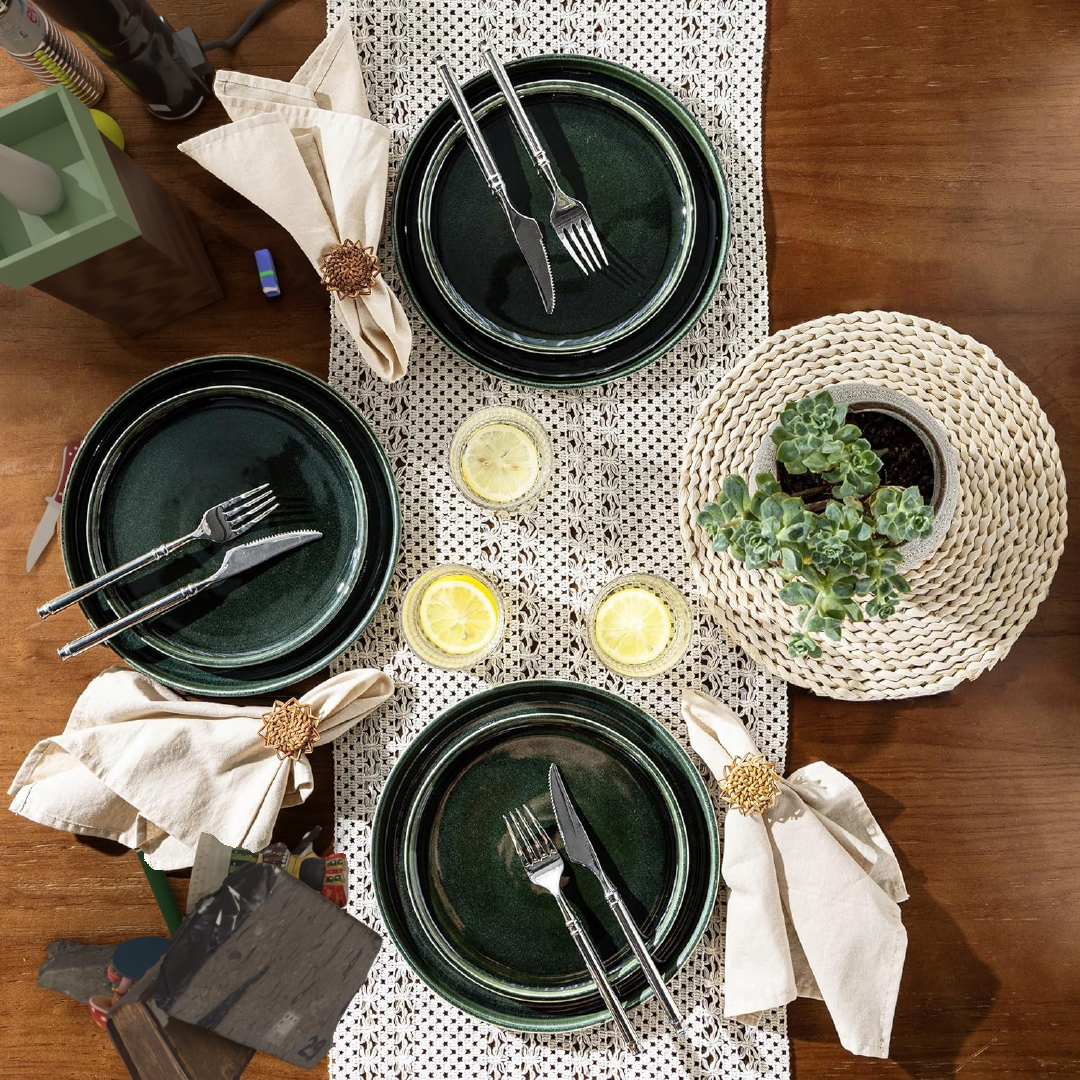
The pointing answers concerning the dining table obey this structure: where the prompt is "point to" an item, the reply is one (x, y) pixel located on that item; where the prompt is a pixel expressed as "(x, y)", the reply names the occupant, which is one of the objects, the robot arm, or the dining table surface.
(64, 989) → the stone
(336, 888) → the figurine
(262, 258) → the eraser
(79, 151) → the open bin
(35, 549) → the knife
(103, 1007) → the figurine
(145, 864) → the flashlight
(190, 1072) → the book
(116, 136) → the ornament
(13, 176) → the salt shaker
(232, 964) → the stone slab
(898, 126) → the dining table surface
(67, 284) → the bin stand
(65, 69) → the water bottle
